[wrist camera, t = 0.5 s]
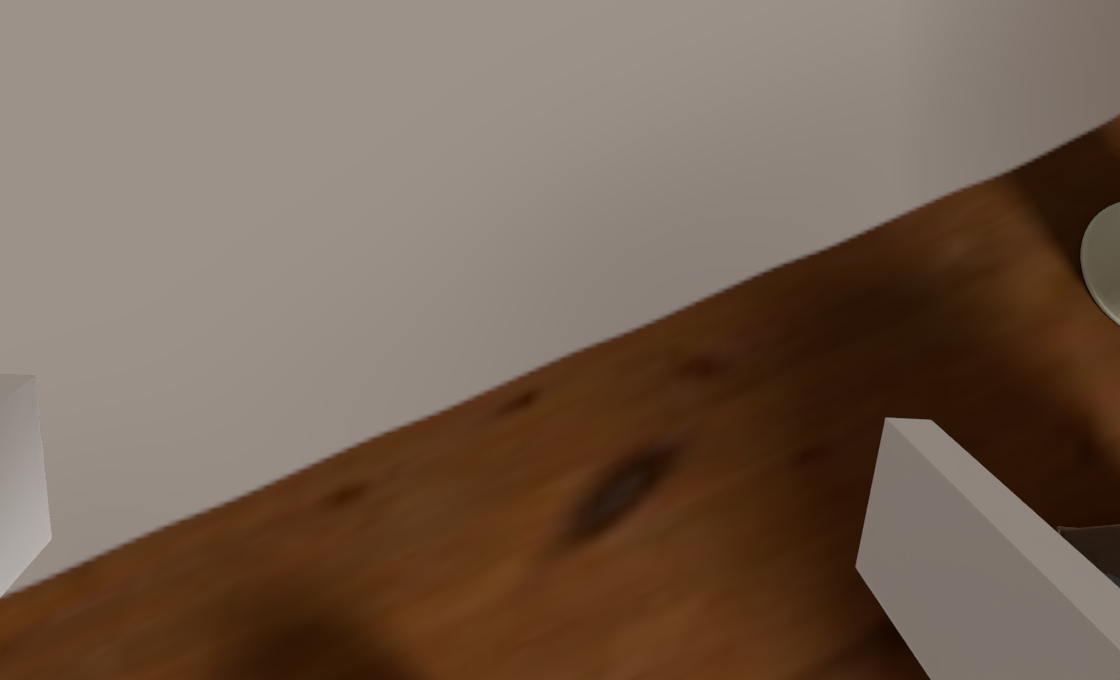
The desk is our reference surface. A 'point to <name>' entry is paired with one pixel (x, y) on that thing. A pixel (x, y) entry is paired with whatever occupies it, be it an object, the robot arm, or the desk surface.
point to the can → (1103, 260)
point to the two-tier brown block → (1096, 545)
